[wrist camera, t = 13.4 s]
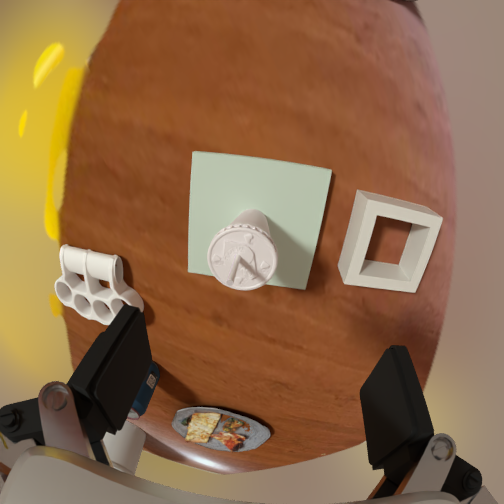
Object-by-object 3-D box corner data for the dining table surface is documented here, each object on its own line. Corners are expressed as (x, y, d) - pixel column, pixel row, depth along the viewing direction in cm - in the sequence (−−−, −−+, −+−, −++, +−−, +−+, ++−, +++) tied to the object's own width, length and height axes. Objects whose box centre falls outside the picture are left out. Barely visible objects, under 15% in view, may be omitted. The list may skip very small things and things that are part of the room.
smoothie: (258, 187, 31) (243, 232, 18) (289, 230, 33) (293, 299, 20) (215, 216, 33) (176, 276, 21) (246, 256, 35) (227, 331, 23)
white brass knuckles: (140, 255, 38) (147, 328, 45) (56, 238, 39) (71, 305, 45) (130, 266, 35) (140, 341, 42) (44, 246, 36) (62, 315, 42)
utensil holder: (133, 419, 63) (114, 466, 48) (156, 441, 69) (142, 484, 54) (99, 411, 66) (79, 453, 50) (122, 434, 72) (107, 472, 56)
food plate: (245, 452, 64) (244, 461, 61) (168, 429, 63) (165, 438, 60) (284, 417, 54) (283, 430, 51) (185, 388, 52) (181, 400, 49)
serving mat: (195, 151, 31) (192, 151, 30) (330, 169, 30) (331, 170, 29) (190, 268, 38) (188, 271, 37) (304, 285, 37) (305, 289, 36)
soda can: (142, 376, 51) (122, 419, 41) (124, 354, 49) (100, 398, 38) (167, 376, 50) (149, 423, 39) (150, 352, 47) (127, 401, 36)
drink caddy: (357, 189, 31) (367, 199, 27) (426, 206, 30) (443, 218, 26) (337, 265, 36) (344, 283, 31) (403, 275, 35) (415, 292, 31)
